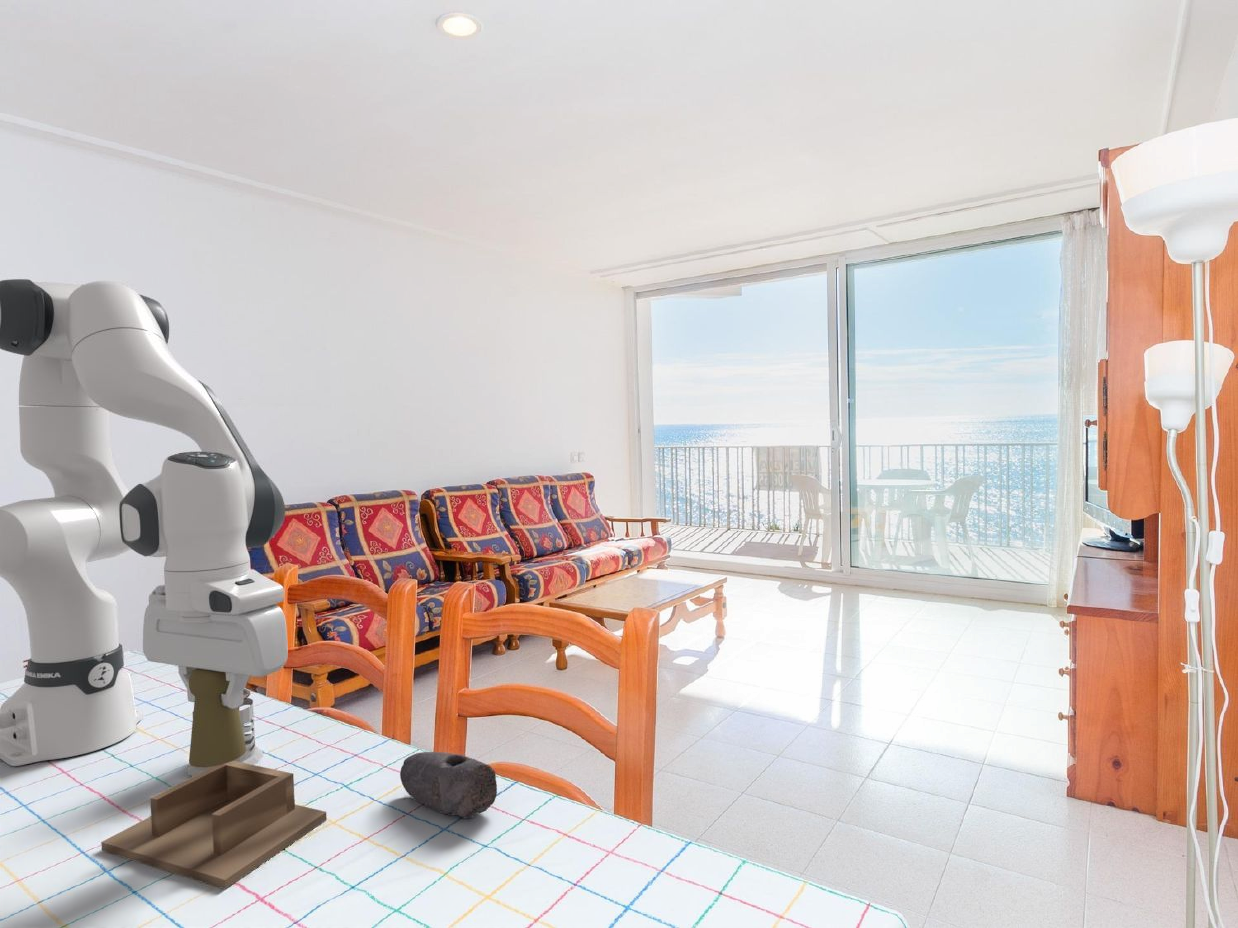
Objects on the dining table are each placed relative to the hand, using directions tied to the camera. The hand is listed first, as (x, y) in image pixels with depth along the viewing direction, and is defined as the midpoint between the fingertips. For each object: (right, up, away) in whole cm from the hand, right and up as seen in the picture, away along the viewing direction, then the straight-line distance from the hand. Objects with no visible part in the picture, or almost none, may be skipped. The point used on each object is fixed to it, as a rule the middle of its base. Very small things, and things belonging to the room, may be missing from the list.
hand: (215, 703), depth 84 cm
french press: (-10, -15, +20) cm, 27 cm away
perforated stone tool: (+26, -15, +6) cm, 31 cm away
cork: (0, -7, 0) cm, 7 cm away
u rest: (0, -16, +1) cm, 16 cm away
